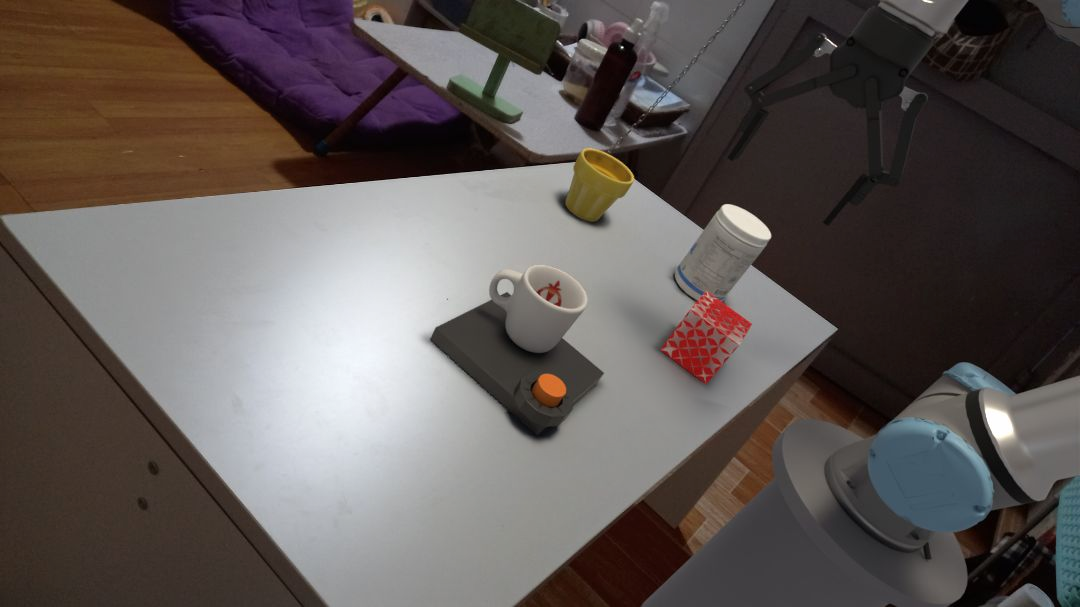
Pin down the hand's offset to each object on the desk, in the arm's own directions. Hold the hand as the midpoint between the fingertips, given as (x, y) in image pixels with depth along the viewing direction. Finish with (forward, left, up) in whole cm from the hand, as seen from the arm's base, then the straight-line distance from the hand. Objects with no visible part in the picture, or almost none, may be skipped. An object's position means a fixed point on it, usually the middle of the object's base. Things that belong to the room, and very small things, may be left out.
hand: (778, 189), depth 78 cm
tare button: (+4, +30, -23) cm, 38 cm away
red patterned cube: (-4, -2, -27) cm, 27 cm away
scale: (+10, +25, -27) cm, 38 cm away
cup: (+13, +23, -25) cm, 36 cm away
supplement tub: (+3, -22, -27) cm, 35 cm away
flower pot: (+27, -19, -27) cm, 43 cm away
